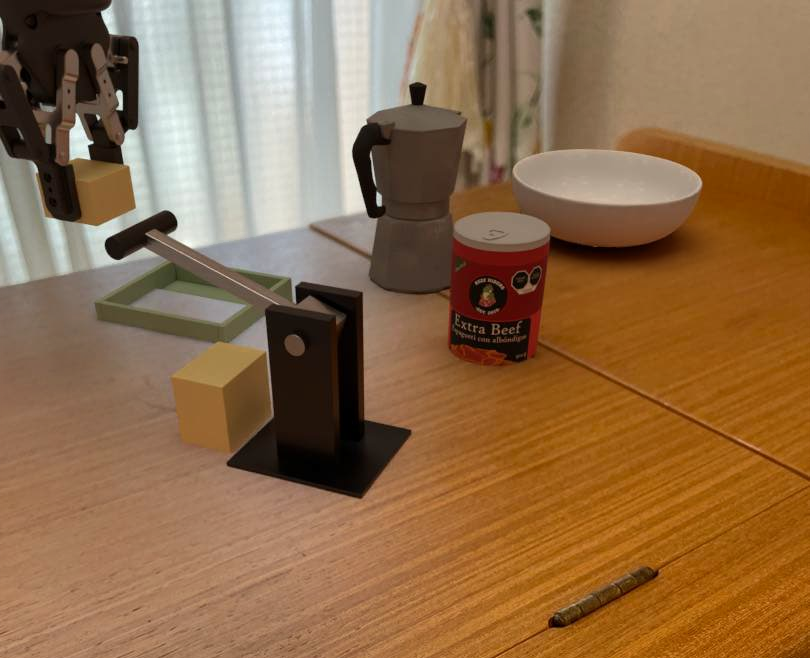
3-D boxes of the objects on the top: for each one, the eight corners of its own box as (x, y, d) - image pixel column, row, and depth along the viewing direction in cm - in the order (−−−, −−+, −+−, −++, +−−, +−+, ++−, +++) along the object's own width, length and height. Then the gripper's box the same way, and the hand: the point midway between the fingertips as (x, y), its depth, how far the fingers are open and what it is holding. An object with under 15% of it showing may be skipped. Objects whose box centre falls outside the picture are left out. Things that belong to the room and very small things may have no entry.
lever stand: (228, 476, 60) (206, 313, 52) (289, 416, 66) (278, 264, 59) (361, 510, 57) (358, 342, 50) (411, 443, 63) (415, 287, 56)
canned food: (436, 367, 73) (442, 236, 66) (460, 330, 79) (467, 206, 73) (526, 381, 71) (541, 248, 65) (543, 342, 78) (558, 216, 71)
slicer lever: (102, 260, 55) (105, 226, 53) (157, 232, 59) (161, 199, 58) (309, 372, 54) (319, 340, 52) (349, 334, 58) (359, 304, 57)
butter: (182, 452, 62) (170, 376, 58) (226, 413, 66) (217, 340, 63) (231, 464, 61) (222, 387, 57) (273, 424, 65) (266, 350, 62)
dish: (99, 328, 78) (93, 301, 77) (175, 281, 87) (172, 257, 86) (227, 354, 75) (223, 326, 73) (293, 303, 84) (291, 277, 82)
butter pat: (45, 217, 62) (35, 173, 60) (85, 199, 65) (77, 157, 63) (97, 226, 60) (88, 181, 59) (136, 208, 64) (129, 165, 62)
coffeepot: (416, 250, 96) (420, 66, 85) (487, 270, 91) (502, 79, 80) (321, 290, 86) (312, 89, 75) (395, 315, 82) (397, 105, 71)
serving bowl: (472, 239, 99) (476, 175, 95) (562, 197, 112) (569, 139, 108) (641, 283, 89) (654, 214, 85) (717, 231, 102) (732, 170, 98)
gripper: (62, -89, 58) (109, 177, 69) (-111, -82, 48) (-24, 231, 58) (157, -84, 56) (190, 189, 67) (-2, -75, 46) (67, 248, 56)
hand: (90, 207), depth 62 cm, fingers closed on butter pat, 4 cm apart
